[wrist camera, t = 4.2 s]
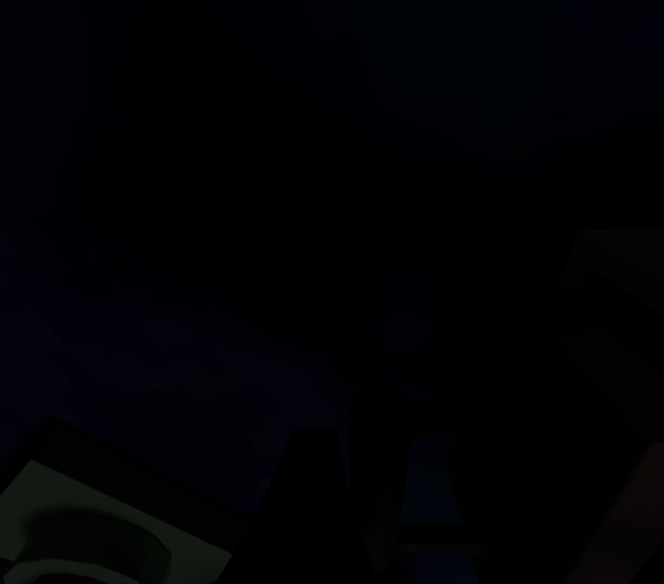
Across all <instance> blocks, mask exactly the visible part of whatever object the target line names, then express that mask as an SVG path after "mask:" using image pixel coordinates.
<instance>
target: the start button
mask: <svg viewBox="0 0 664 584" xmlns="http://www.w3.org/2000/svg"><path fill="white" fill-rule="evenodd" d="M42 584H108V583H105V582H102V581H100V580H97V579H95V578H92V577H87V576H80V575H73V574H66V573H59V574H51V575H47V576H46V578H45V579H44V581H43V582H42Z"/></svg>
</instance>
